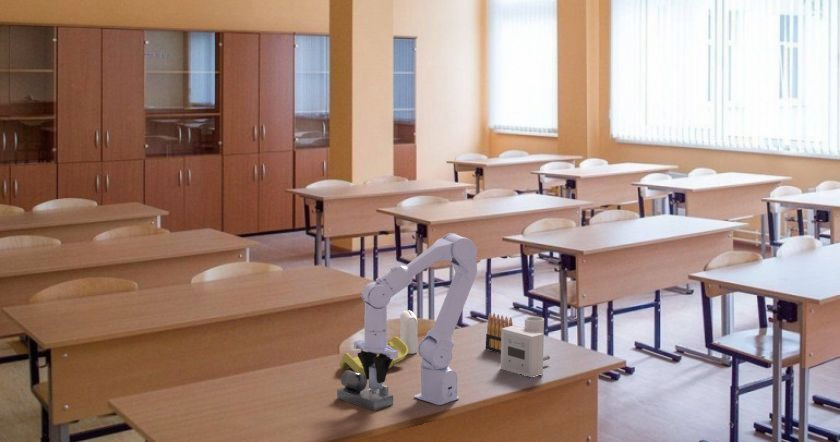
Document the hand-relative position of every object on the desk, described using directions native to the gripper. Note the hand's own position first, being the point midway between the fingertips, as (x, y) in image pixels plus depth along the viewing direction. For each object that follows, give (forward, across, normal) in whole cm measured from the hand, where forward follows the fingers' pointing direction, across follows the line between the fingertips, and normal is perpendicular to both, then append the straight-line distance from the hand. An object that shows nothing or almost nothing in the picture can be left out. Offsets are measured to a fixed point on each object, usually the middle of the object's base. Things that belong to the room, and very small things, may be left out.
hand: (375, 380), depth 257 cm
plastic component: (+7, -24, +24) cm, 34 cm away
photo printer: (+7, -31, +44) cm, 54 cm away
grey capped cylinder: (+2, 0, 0) cm, 2 cm away
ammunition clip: (+7, -9, +62) cm, 63 cm away
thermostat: (+7, +9, +55) cm, 56 cm away
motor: (+7, -4, 0) cm, 8 cm away
